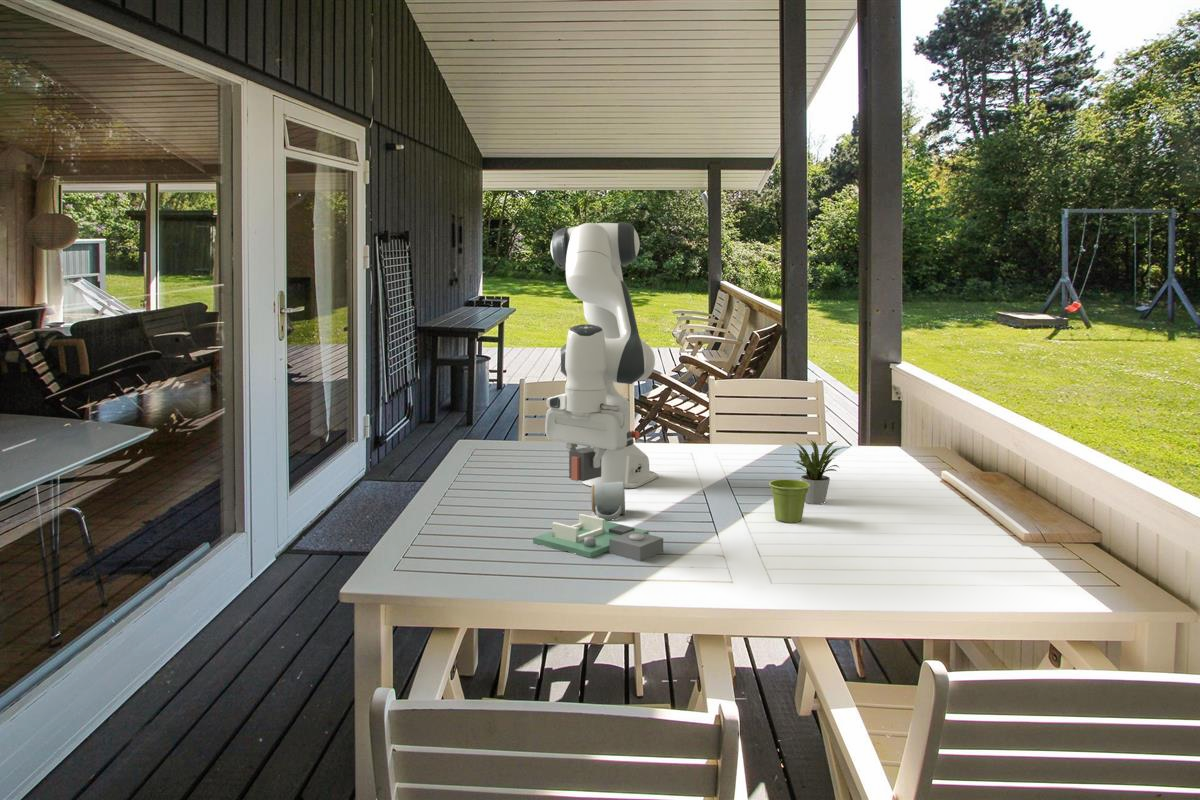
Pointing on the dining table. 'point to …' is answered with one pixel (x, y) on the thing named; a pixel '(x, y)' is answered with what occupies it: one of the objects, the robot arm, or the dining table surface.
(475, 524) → the dining table surface
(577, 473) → the plug
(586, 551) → the board
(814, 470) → the house plant
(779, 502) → the plant pot
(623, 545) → the gray push button box
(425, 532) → the dining table surface
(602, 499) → the ceramic mug
